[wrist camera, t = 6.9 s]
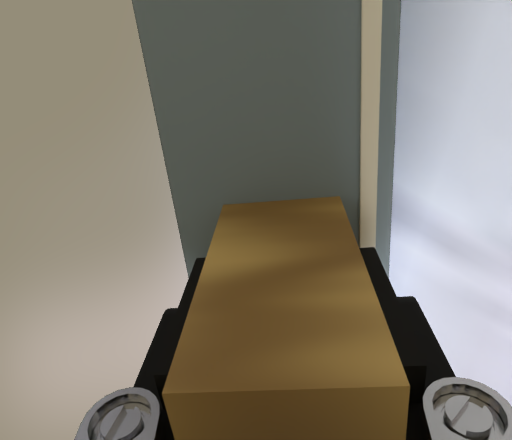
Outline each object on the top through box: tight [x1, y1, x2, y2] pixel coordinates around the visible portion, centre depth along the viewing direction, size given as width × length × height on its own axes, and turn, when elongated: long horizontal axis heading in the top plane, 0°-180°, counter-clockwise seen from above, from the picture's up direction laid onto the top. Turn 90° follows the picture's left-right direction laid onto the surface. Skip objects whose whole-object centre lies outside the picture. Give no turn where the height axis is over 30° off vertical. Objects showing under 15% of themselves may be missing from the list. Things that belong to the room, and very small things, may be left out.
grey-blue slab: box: [132, 0, 410, 440], centre depth 9 cm, size 6×19×8 cm, turn 6°
